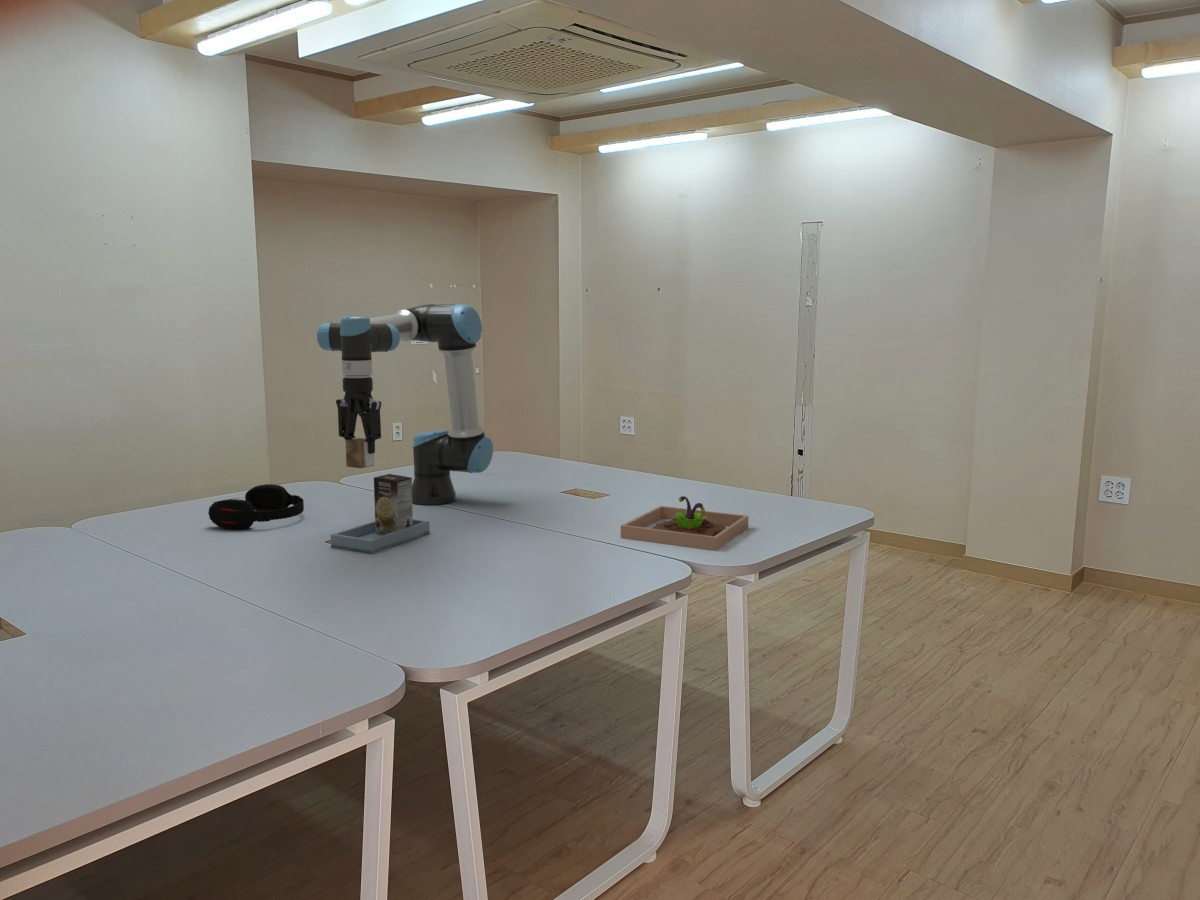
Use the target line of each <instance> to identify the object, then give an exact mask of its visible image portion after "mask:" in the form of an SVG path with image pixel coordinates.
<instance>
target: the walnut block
mask: <svg viewBox="0 0 1200 900" xmlns="http://www.w3.org/2000/svg"><path fill="white" fill-rule="evenodd" d="M364 440H366V438H361V437H357V438H353V439H350V440H346V442H345V458H346V459H345V463H346V467H347V468H355V469H363V468H369V467H374V466H375V464H374V465H372V466H367V467H366V466H365V462H364V442H365V441H364ZM373 454H374V455H375V453H373Z"/></svg>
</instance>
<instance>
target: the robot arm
mask: <svg viewBox="0 0 1200 900" xmlns="http://www.w3.org/2000/svg"><path fill="white" fill-rule="evenodd" d="M482 333H483V325H482V320H481V317H480V314H479V313H478V311H477V310H476V309H475V308H474V307H473V306H471V305H468V304H461V303H456V304H455V303H451V304H450V303H447V304H446V303H445V304H440V303H439V304H432V303H431V304H424V305H423V304H421V305H418V306H414V307H410V308H409V307H408V308H405V309H399V310H397V311H396V312H395V313H394V314H390V315H383V316H376V317H370V318H369V317H368V316H343V317H342V318H341V319H340V322H329V323H327V322H326V323H322V324H321V325H320V326H319V327H318V329H317V331H316V339H317V340H316V341H317V344H318V346H319V347H320V348H321V349H322V350H325V351H329V352H330V351H331V352H341V369H342V370H341V371H342V372H341V374H342V376H344V377H343V378H342V391H343V392H344V396H343V398H338V399H335V404H336V407H337V419H338V420H337V421H338V422H337V424H338V425H337V426H338V436H339V437H340V438H344V440H345V443H346V440H350V439H356V435H355V431H356V425H357V419H358V416H359V417H360V419H361V420H360V421H361V424H362V428H363V433H364V437H365V439H366V440H364V441H365V442H364V462H365V466H366V467H365V468H368V467H367V466H370V467H373V466H372V465H374V466H375V453H376V441H377V440H378V439H379V440H380V439H382V427H381V426H382V424H381V408H382V402H381V401H380V400H378V401H377V400H375V399H373V396H372V392H373V390H374V386H373V383H374V382H373V378H372V375H373V361H372V359H373V358H372V353H388V352H390V351H393V350H396V349H397V347H399V345H400V341H403V342H411V341H416V342H417V341H419V342H427V343H437V347H438V351H440V352H441V353H442V354H443V356H444V357H443V358H444V366H445V374H446V375H445V376H446V384H447V392H448V393H447V394H448V402H449V412H450V413H449V414H450V421H451V428H450V430H448V429H439V430H438V429H437V430H430V431H424V432H419V433H416V434H415V435H414V436H413V440H412V441H413V443H412V449H413V450H412V451H413V471H414V472H413V475H414V476H413V480H412V504H415V505H416V504H417V505H421V506H422V505H424V506H425V505H426V506H435V505H445V504H448V503H449V504H450V503H453V502H454V501H456V499H457V496H456V495H457V492H456V491H455V488H454V485H453V481H452V479H451V478H452V477H451V472H459V473H460V472H462V473H469V474H473V473H475V474H476V473H477V474H479V473H484V472H485V471H486V470H487V468H488V467H489V466H490V464H491V462H492V459H493V455H494V443H493V441H492V439H491V438H490V437H488V436H486V435H485V430H484V428H483V427H482V426H480V421H479V412H478V404H477V403H478V402H477V392H476V383H475V382H476V381H475V372H474V370H475V369H474V363H473V361H474V360H473V351H474V350H475V349H476V348H477V344H476V343H478V342H480V340H481V338H482ZM373 453H374V454H373Z"/></svg>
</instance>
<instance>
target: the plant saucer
mask: <svg viewBox="0 0 1200 900" xmlns="http://www.w3.org/2000/svg"><path fill="white" fill-rule="evenodd" d="M692 509H693V508H691V510H692ZM686 511H687V508H683V507H676V506H675V507H673V506H665V505H659V506H657V507H655V508H653V509H651V510H649V511H647V512H645V513H643V514H641V515H639V516H636V517H635V518H633V519H631V520H629V521H627V522H625V523H623V524H621V525H620V538H621V539H627V540H634V541H641V542H649V543H657V544H664V545H671V546H678V547H686V548H695V549H702V550H708V551H717V550H719V549H720V548H722V547H723V546H725V545H726V544H727V543H729V542H730V541H731V540H733V539H735V537H737V536H738V535H740V534H741V533H742V532H744V531H745V530H747V529H748V528H749V515H743V514H736V513H735V514H734V513H726V512H717V511H709V510H705V513H704V514H702V513H701V509H696V510H695V513H696V512H699V513H701V516H700V518H699V520H701V519H702V518H703V517H707V518H706V519H705V520H707V521H708V520H709V521H711V522H713V523H716V524H719V525H724V526H725V527H726V529H724V530H723V531H721V532H720V533H718V534H717V535H715V536H706V535H698V534H690V533H682V532H675V531H667V530H659V529H651V528H652V527H651V528H649V527H648V526H650V525H651V524H653V523H655V522H657V521H659V520H661V519H667V520H672V519H674V518H673V517H676V518H678V517H677V516H676V514H677V512H680V513H682V514H685V512H686ZM672 516H673V517H672Z"/></svg>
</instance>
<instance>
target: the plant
mask: <svg viewBox="0 0 1200 900" xmlns="http://www.w3.org/2000/svg"><path fill="white" fill-rule="evenodd" d="M683 501H685V502H686V505H687V507H686V509H687V511H686V512H685V514H682V513H680V512H677V514H676V516H677V517H678V518H676V517H673V516H672V517H673V518H674V519H668V520H665V521H662V522H659V523H656V524H655V525H654V526H652V527H651V529H659V530H667V531H675V532H682V533H690V534H698V535H706V536H715V535H717V534H718V533H720V532H721V531H723V530H724V529H726V528H727V526H724V525H719V524H716V523H713V522H711V521H709V520H708V521H707V520H705V519H706V518H707V517H703V518H702V519H701V520H699V518H700V516H701V513H702V514H704V513H705V511H706V509H705V507H704V503H701V502H697V503H695V504H694V505H693V507H691V506H692V505H691V502H690V500H689V498H688V497H687V496H679V497H678V502H680V503H683ZM698 508H699V509H700V510H701V513H699V512H696V513H695V510H698ZM691 509H692V510H691Z"/></svg>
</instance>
